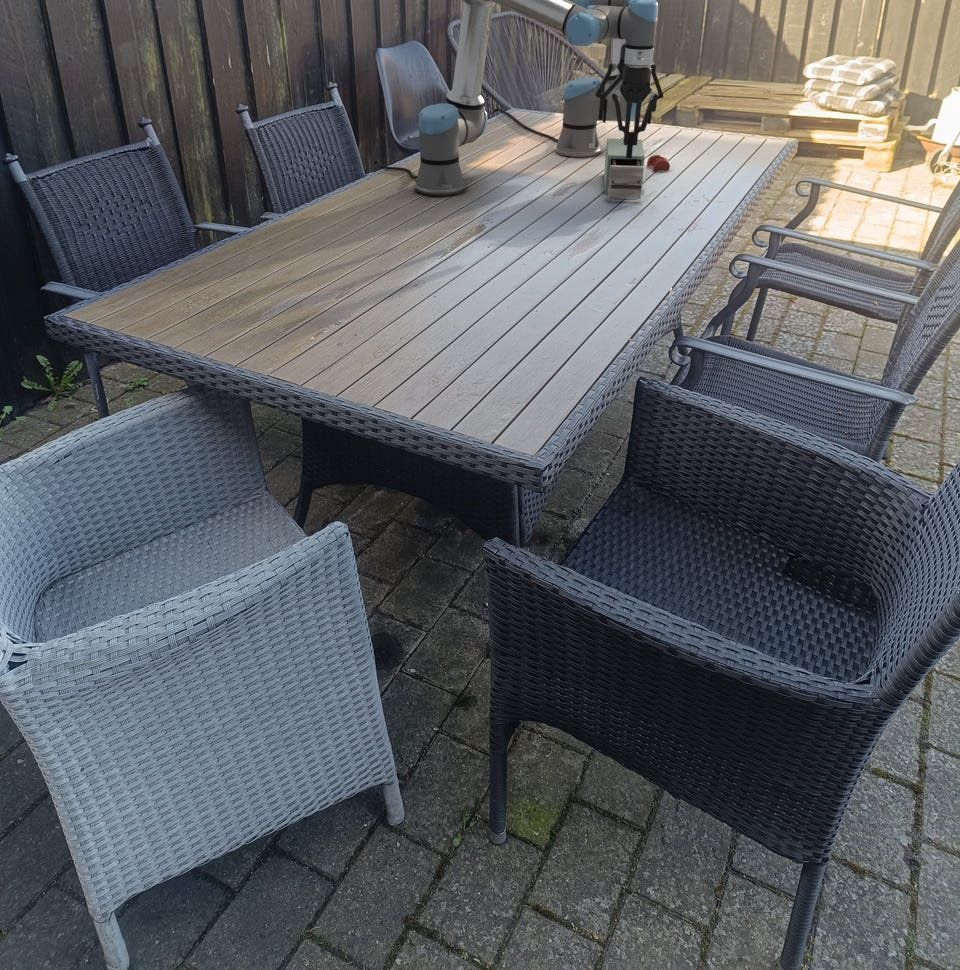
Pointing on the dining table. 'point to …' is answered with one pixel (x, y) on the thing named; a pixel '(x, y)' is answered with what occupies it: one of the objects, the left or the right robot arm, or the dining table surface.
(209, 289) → the dining table surface
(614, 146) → the cabinet
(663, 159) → the red-brown rounded lump
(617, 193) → the drawer
